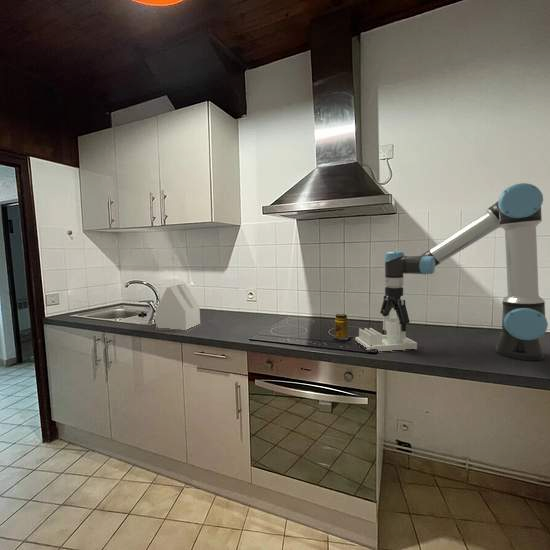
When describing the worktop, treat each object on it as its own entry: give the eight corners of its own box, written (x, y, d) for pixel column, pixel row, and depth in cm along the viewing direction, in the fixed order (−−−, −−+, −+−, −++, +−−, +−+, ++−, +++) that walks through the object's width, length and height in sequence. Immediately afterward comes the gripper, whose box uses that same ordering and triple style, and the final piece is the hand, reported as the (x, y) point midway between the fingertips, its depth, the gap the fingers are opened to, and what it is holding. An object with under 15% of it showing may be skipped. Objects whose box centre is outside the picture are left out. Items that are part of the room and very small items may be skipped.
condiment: (331, 339, 149) (331, 315, 148) (340, 335, 156) (340, 312, 154) (345, 342, 144) (345, 317, 143) (353, 337, 151) (353, 313, 150)
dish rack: (417, 349, 132) (417, 332, 131) (368, 353, 129) (368, 336, 128) (399, 339, 146) (399, 324, 145) (355, 343, 143) (355, 327, 142)
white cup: (406, 346, 132) (406, 323, 131) (387, 345, 133) (387, 322, 132) (402, 340, 139) (403, 318, 139) (384, 339, 141) (384, 318, 140)
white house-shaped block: (156, 330, 176) (153, 287, 173) (172, 323, 191) (170, 283, 188) (186, 332, 171) (183, 287, 168) (200, 325, 185) (198, 283, 183)
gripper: (373, 283, 147) (373, 327, 149) (401, 291, 122) (401, 343, 125) (387, 283, 148) (387, 326, 150) (419, 290, 124) (418, 341, 126)
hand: (393, 334), depth 137 cm, fingers open, 13 cm apart
